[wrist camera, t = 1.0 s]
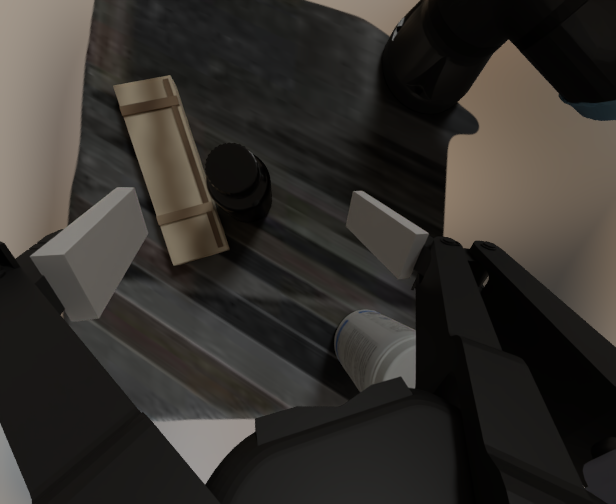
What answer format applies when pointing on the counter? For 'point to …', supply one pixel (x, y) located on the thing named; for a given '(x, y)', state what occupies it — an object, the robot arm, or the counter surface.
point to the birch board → (171, 169)
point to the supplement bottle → (238, 182)
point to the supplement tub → (376, 349)
